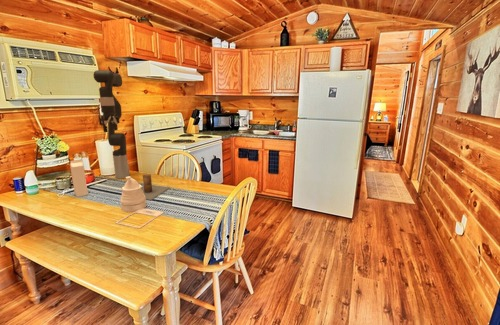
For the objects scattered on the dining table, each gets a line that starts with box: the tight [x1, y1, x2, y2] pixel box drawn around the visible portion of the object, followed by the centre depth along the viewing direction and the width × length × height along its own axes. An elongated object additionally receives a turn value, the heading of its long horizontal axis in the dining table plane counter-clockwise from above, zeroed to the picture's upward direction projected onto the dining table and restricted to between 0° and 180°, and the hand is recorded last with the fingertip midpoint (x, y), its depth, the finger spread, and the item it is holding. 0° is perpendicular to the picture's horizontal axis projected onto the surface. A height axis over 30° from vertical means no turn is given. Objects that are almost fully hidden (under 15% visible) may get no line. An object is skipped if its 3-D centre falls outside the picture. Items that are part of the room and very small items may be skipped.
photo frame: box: [114, 208, 165, 229], centre depth 130 cm, size 15×1×18 cm
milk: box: [69, 159, 89, 198], centre depth 157 cm, size 6×6×22 cm
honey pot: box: [119, 175, 147, 213], centre depth 141 cm, size 13×13×18 cm
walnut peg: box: [142, 173, 153, 193], centre depth 163 cm, size 5×5×11 cm
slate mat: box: [141, 185, 171, 201], centre depth 164 cm, size 22×18×1 cm
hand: (110, 131), depth 161 cm, fingers open, 8 cm apart
